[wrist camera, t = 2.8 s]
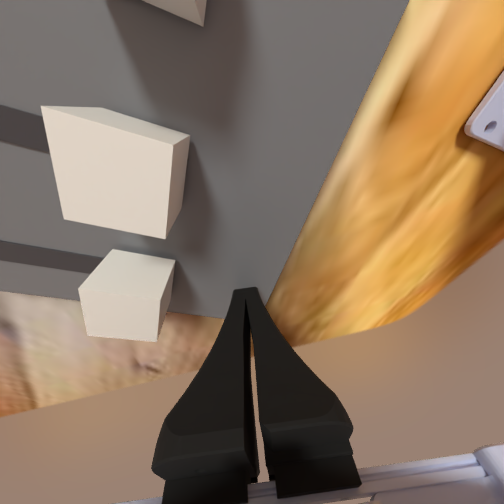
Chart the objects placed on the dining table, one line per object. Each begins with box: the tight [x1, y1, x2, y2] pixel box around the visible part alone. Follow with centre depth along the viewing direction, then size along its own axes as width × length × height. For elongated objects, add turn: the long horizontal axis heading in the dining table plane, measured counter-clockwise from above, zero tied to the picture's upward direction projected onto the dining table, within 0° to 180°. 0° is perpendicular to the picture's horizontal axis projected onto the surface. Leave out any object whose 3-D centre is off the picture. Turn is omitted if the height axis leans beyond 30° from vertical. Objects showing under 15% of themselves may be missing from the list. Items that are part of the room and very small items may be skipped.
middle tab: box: [41, 106, 190, 239], centre depth 7 cm, size 3×3×3 cm
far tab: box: [78, 249, 175, 342], centre depth 10 cm, size 3×3×3 cm
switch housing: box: [0, 0, 409, 319], centre depth 9 cm, size 17×18×2 cm
